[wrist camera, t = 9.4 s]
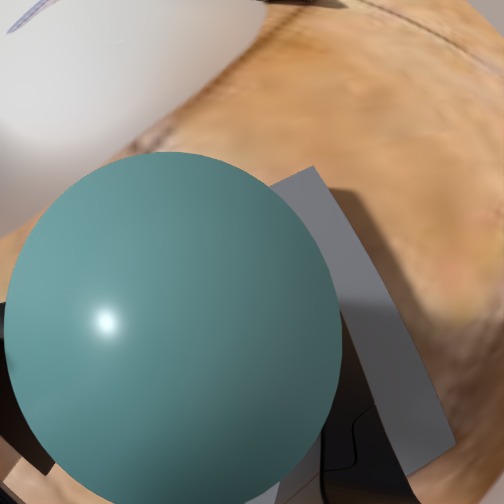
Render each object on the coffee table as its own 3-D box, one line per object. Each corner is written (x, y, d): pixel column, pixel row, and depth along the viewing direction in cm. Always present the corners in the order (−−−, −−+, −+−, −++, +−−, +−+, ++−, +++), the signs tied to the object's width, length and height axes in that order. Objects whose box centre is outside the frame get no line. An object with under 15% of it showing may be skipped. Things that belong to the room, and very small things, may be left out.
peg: (320, 357, 15) (410, 430, 3) (236, 397, 15) (79, 529, 3) (278, 275, 16) (227, 98, 4) (197, 315, 16) (-14, 253, 4)
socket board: (439, 432, 14) (456, 443, 12) (241, 523, 14) (234, 543, 12) (311, 185, 19) (313, 165, 17) (123, 282, 19) (102, 275, 17)
